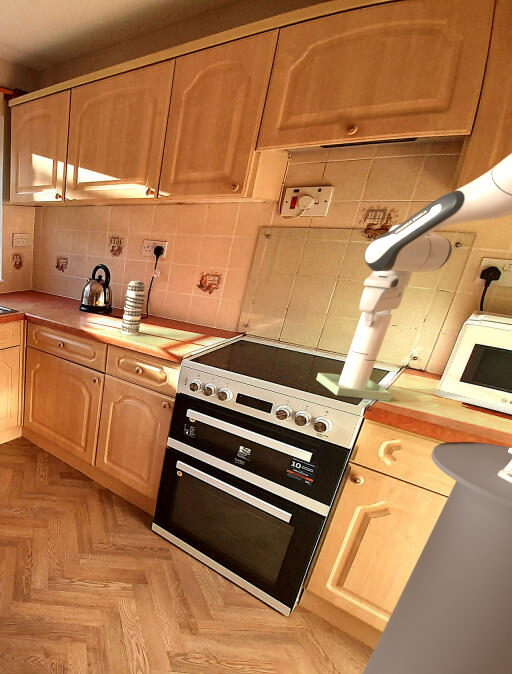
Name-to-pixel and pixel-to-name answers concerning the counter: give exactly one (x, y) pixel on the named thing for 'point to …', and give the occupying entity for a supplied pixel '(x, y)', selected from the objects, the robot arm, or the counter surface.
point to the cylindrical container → (364, 352)
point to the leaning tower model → (133, 307)
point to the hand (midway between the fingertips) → (373, 324)
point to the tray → (370, 392)
